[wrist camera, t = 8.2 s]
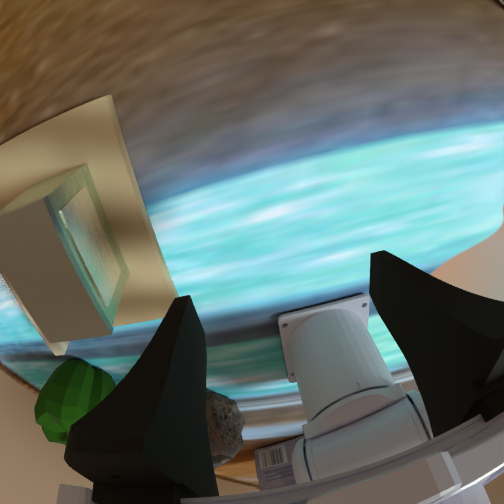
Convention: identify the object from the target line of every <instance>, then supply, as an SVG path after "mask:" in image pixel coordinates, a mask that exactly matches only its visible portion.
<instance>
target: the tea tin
mask: <svg viewBox="0 0 504 504" xmlns="http://www.w3.org/2000/svg"><path fill="white" fill-rule="evenodd" d="M0 265H1V267H2V269H3V271H4V272H5V274H6V276H7V278H8V280H9V281H10V283H11V285H12V287H13V288H14V290H15V292H16V293H17V295H18V297H19V298H20V300H21V301H22V303H23V305H24V306H25V308H26V309H27V311H28V312H29V314H30V316H31V317H32V319H33V320H34V322H35V323H36V325H37V326H38V327H39V329H40V330H41V332H42V333H43V335H44V336H45V337H46V339H47V340H48V342H49V343H58V342H65V341H72V340H79V339H86V338H93V337H100V336H106V335H112V331H113V323H114V320H115V317H116V314H117V310H118V307H119V304H120V301H121V298H122V294H123V291H124V288H125V285H126V282H127V279H128V276H129V273H130V271H129V269H128V267H127V265H126V262H125V260H124V258H123V256H122V253H121V251H120V248H119V246H118V244H117V241H116V239H115V237H114V234H113V232H112V229H111V227H110V224H109V222H108V219H107V217H106V214H105V211H104V209H103V206H102V203H101V201H100V198H99V195H98V193H97V190H96V187H95V184H94V181H93V179H92V176H91V173H90V170H89V167H88V164H87V163H86V164H83V165H81V166H78V167H75V168H73V169H70V170H68V171H65V172H63V173H60V174H58V175H55V176H53V177H50V178H48V179H46V180H43V181H41V182H38V183H36V184H34V185H32V186H31V187H29V188H28V189H27V190H25V191H24V192H23V193H21V194H20V195H19V196H18V197H16V198H15V199H14V200H13V201H11V202H10V203H9V204H8V205H7V206H5V207H4V208H3V209H2V210H1V211H0Z"/></svg>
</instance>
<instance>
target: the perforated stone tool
mask: <svg viewBox="0 0 504 504" xmlns="http://www.w3.org/2000/svg"><path fill="white" fill-rule="evenodd" d="M206 416H207V425H208V434H209V441H210V449H211V455H212V461H213V467H214V469H215V468H217V467H219V466H221V465H223V464H225V463H226V462H228V461H229V460H231V459H232V458H233V457H234V456H235V455H236V454H237V453H238V452H239V451H240V450H241V449H242V447H243V446H244V443H243V439H242V435H241V432H242V430H243V426H244V424H245V419H244V417H243V415H242V414H241V413H240V411H239V409H238V407H237V403H236V402H235V400H231V399H229V398H228V397H223V396H221V395H220V394H216V393H215V392H211V393H208V394H207V395H206Z"/></svg>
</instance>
